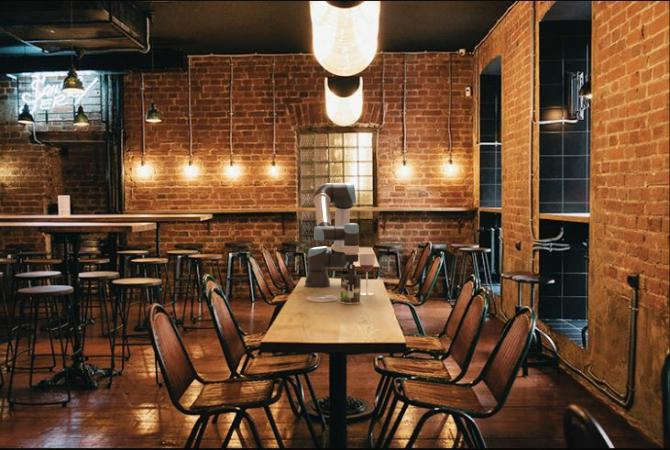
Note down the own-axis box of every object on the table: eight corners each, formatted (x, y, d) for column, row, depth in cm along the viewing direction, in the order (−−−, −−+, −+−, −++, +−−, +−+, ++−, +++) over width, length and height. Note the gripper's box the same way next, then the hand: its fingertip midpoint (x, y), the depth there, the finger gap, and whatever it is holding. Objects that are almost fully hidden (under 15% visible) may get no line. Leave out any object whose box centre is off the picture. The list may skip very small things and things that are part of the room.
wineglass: (374, 292, 337) (375, 253, 336) (374, 295, 327) (374, 255, 326) (359, 292, 338) (359, 253, 337) (358, 295, 328) (358, 255, 327)
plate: (307, 296, 321) (307, 294, 321) (337, 297, 321) (337, 294, 321) (305, 302, 305) (305, 299, 305) (336, 302, 305) (336, 299, 305)
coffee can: (355, 305, 299) (355, 277, 298) (337, 303, 304) (337, 275, 303) (364, 301, 308) (364, 274, 307) (346, 300, 313) (346, 273, 312)
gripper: (344, 251, 317) (343, 291, 318) (343, 256, 292) (343, 299, 293) (358, 251, 317) (357, 291, 318) (358, 256, 292) (358, 299, 293)
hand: (350, 295), depth 306 cm, fingers open, 13 cm apart
